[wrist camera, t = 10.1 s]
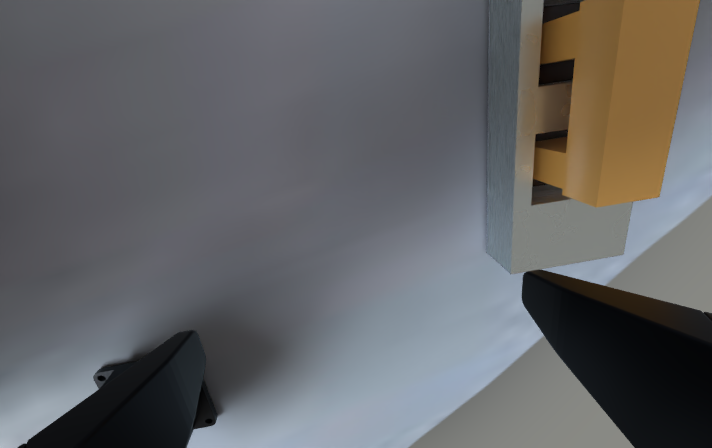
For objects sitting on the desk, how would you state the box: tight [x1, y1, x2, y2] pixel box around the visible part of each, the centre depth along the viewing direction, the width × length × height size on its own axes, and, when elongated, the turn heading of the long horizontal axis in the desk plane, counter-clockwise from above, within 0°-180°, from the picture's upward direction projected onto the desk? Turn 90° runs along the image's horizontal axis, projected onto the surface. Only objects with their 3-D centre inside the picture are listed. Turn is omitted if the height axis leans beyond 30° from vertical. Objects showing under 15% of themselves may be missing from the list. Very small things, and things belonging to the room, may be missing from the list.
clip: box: [533, 0, 700, 208], centre depth 16 cm, size 8×3×6 cm, turn 8°
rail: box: [486, 0, 633, 274], centre depth 18 cm, size 18×7×3 cm, turn 8°
